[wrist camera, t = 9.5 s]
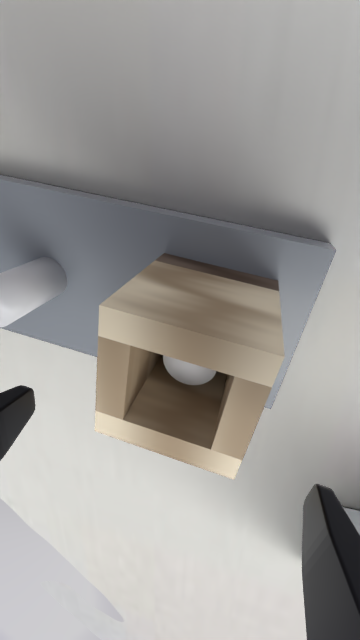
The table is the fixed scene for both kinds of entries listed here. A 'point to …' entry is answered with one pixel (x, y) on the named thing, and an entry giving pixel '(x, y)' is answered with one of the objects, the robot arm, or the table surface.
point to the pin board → (131, 264)
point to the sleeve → (188, 360)
